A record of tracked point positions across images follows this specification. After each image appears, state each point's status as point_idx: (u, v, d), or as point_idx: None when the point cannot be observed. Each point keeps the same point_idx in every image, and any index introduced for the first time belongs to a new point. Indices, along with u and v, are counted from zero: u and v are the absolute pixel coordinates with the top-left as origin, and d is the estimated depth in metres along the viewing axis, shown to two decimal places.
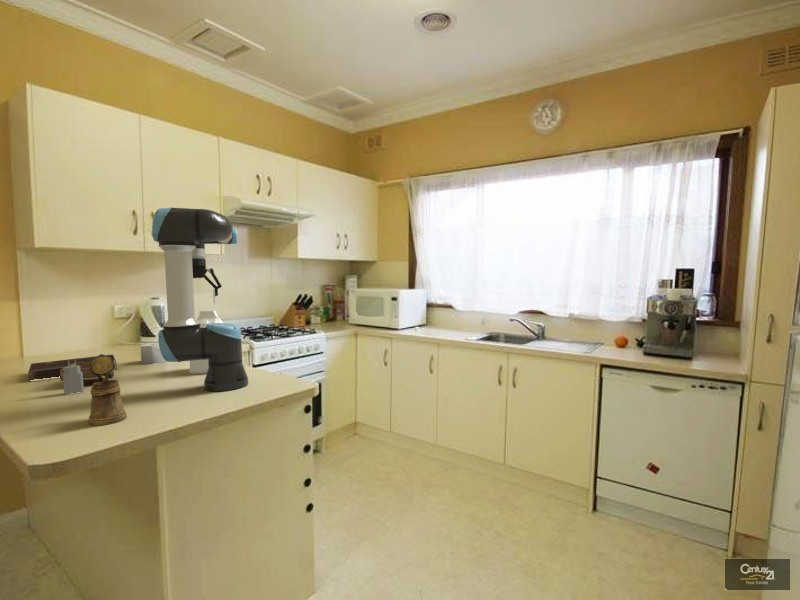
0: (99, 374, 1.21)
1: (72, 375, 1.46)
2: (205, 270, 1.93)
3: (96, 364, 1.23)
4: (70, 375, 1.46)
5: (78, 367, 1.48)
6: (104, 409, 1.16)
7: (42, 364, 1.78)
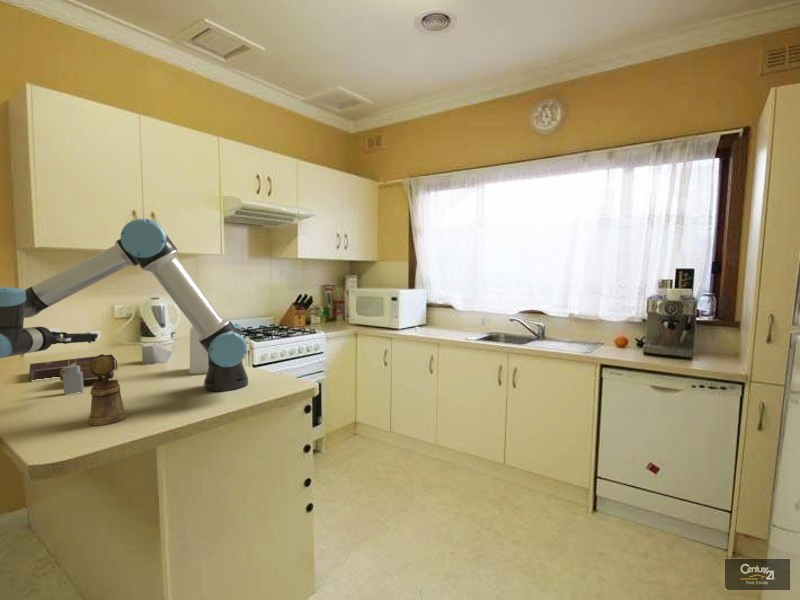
0: (99, 374, 1.21)
1: (72, 375, 1.46)
2: None
3: (96, 363, 1.23)
4: (70, 375, 1.46)
5: (78, 367, 1.48)
6: (104, 409, 1.16)
7: (42, 364, 1.77)
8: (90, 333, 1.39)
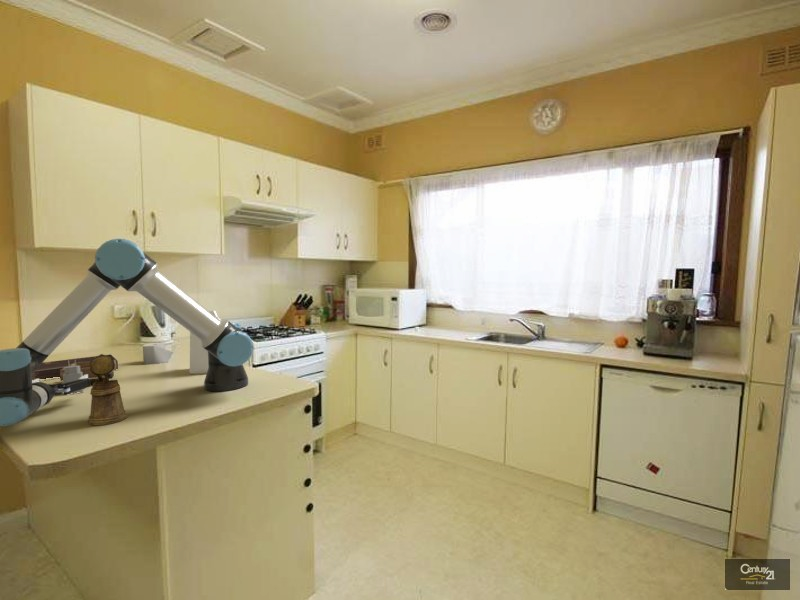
0: (99, 374, 1.21)
1: (72, 375, 1.46)
2: None
3: (96, 363, 1.23)
4: (70, 375, 1.46)
5: (78, 367, 1.48)
6: (104, 409, 1.16)
7: (41, 364, 1.77)
8: (83, 379, 1.37)
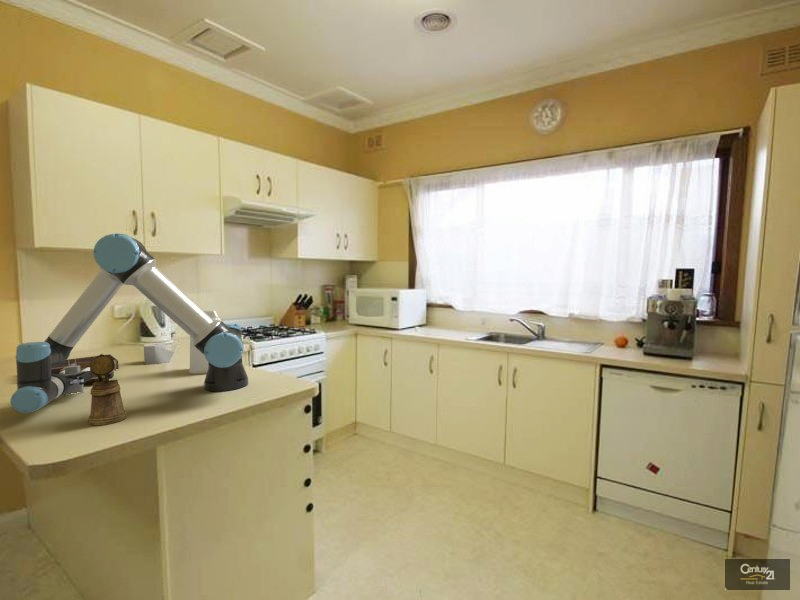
0: (99, 374, 1.21)
1: None
2: None
3: (96, 363, 1.23)
4: None
5: (78, 367, 1.48)
6: (104, 409, 1.16)
7: None
8: (86, 371, 1.47)
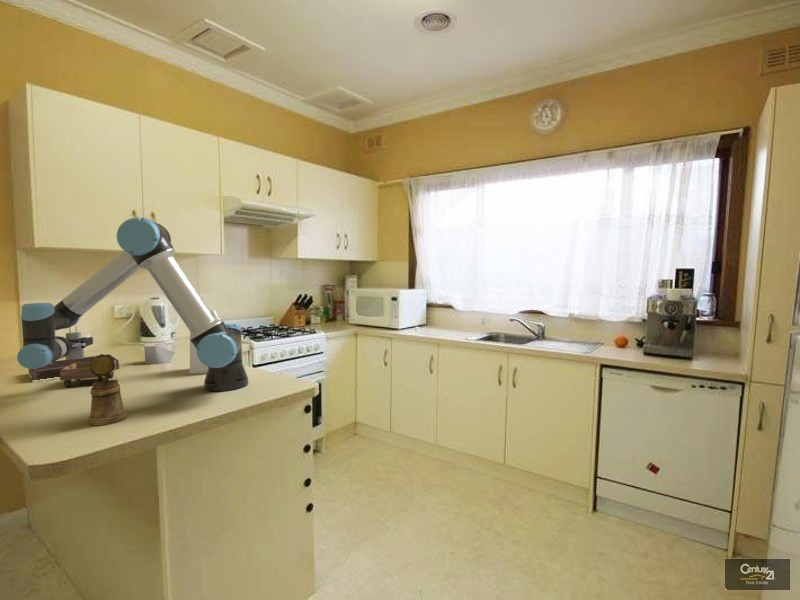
0: (99, 374, 1.21)
1: None
2: None
3: (96, 363, 1.23)
4: None
5: (79, 333, 1.53)
6: (104, 409, 1.16)
7: None
8: (86, 337, 1.52)
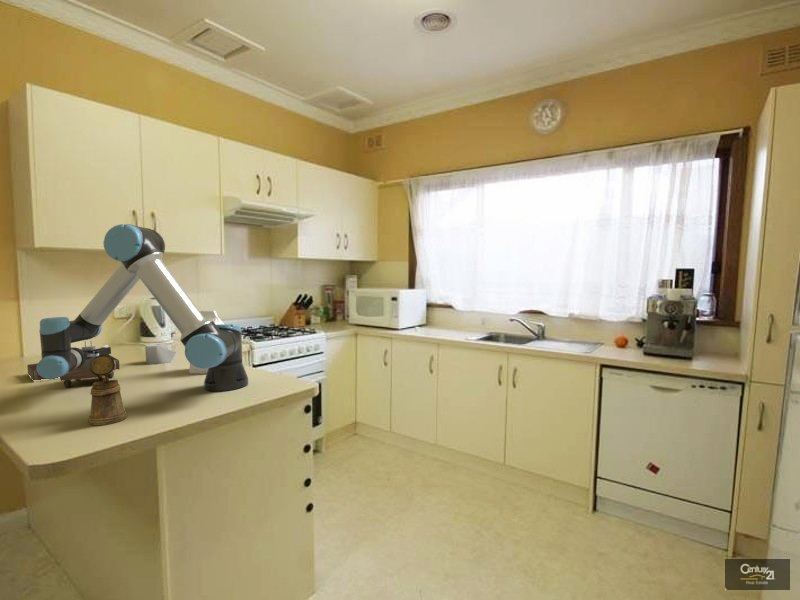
0: (99, 374, 1.21)
1: None
2: None
3: (96, 363, 1.23)
4: None
5: (93, 347, 1.63)
6: (104, 409, 1.16)
7: None
8: (105, 347, 1.62)
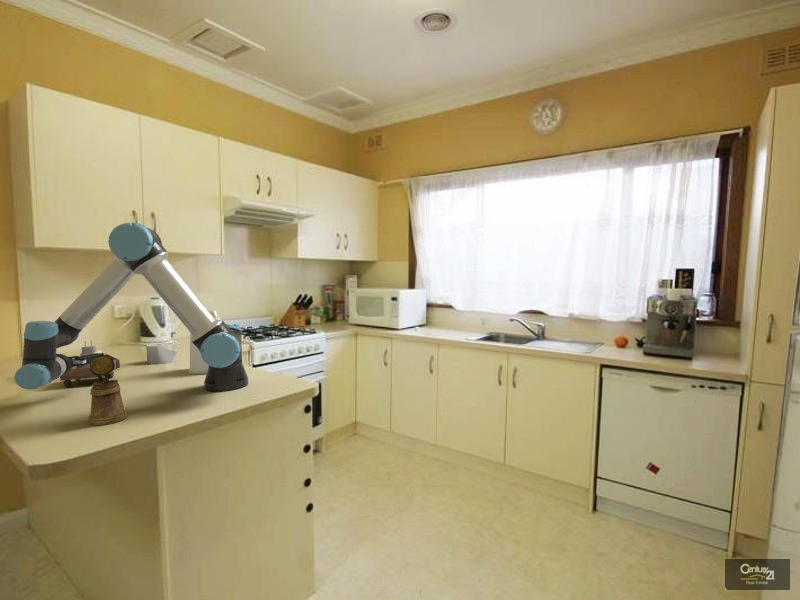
0: (99, 374, 1.21)
1: None
2: None
3: (96, 363, 1.23)
4: (86, 354, 1.61)
5: (93, 347, 1.63)
6: (104, 409, 1.16)
7: None
8: (97, 353, 1.49)
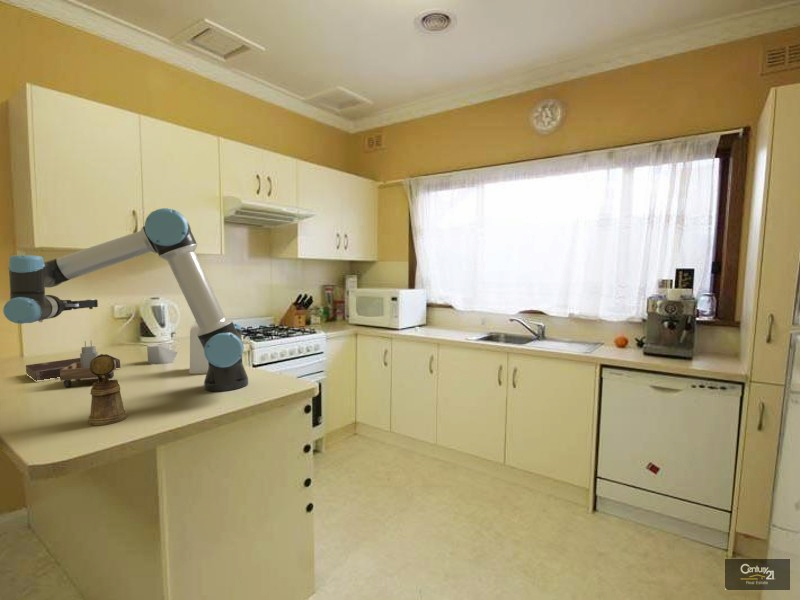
0: (99, 374, 1.21)
1: (88, 355, 1.61)
2: None
3: (96, 363, 1.23)
4: (86, 354, 1.61)
5: (93, 347, 1.63)
6: (104, 409, 1.16)
7: (40, 365, 1.75)
8: None
